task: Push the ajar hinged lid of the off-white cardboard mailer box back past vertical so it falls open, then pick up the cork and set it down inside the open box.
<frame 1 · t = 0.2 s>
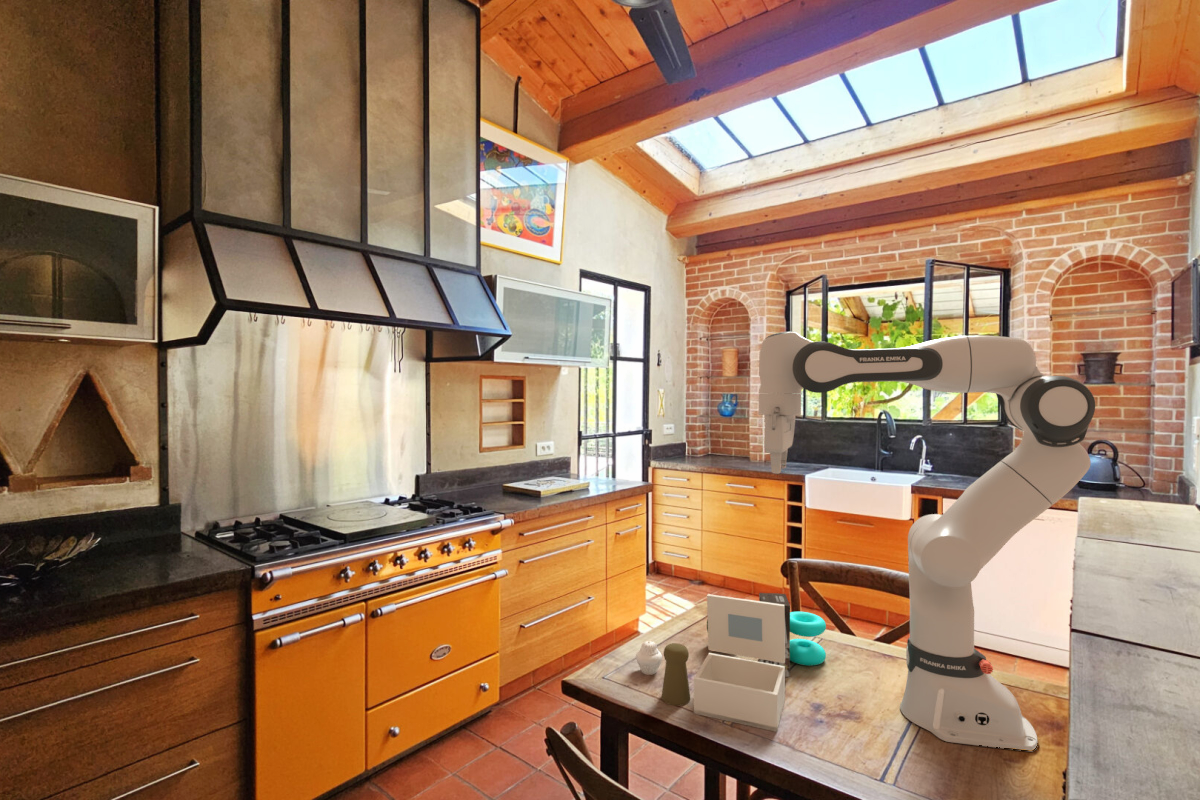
hand: (779, 470, 129), 47 cm above the table, fingers open, 8 cm apart
mailer lid: (745, 628, 126), point 14 cm above the table, hinge at 82.0°
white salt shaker: (649, 672, 136), on the table
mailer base: (740, 706, 121), on the table
bell pepper: (723, 648, 149), on the table
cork: (675, 698, 124), on the table
donuts: (803, 659, 143), on the table
coffee box: (773, 668, 138), on the table
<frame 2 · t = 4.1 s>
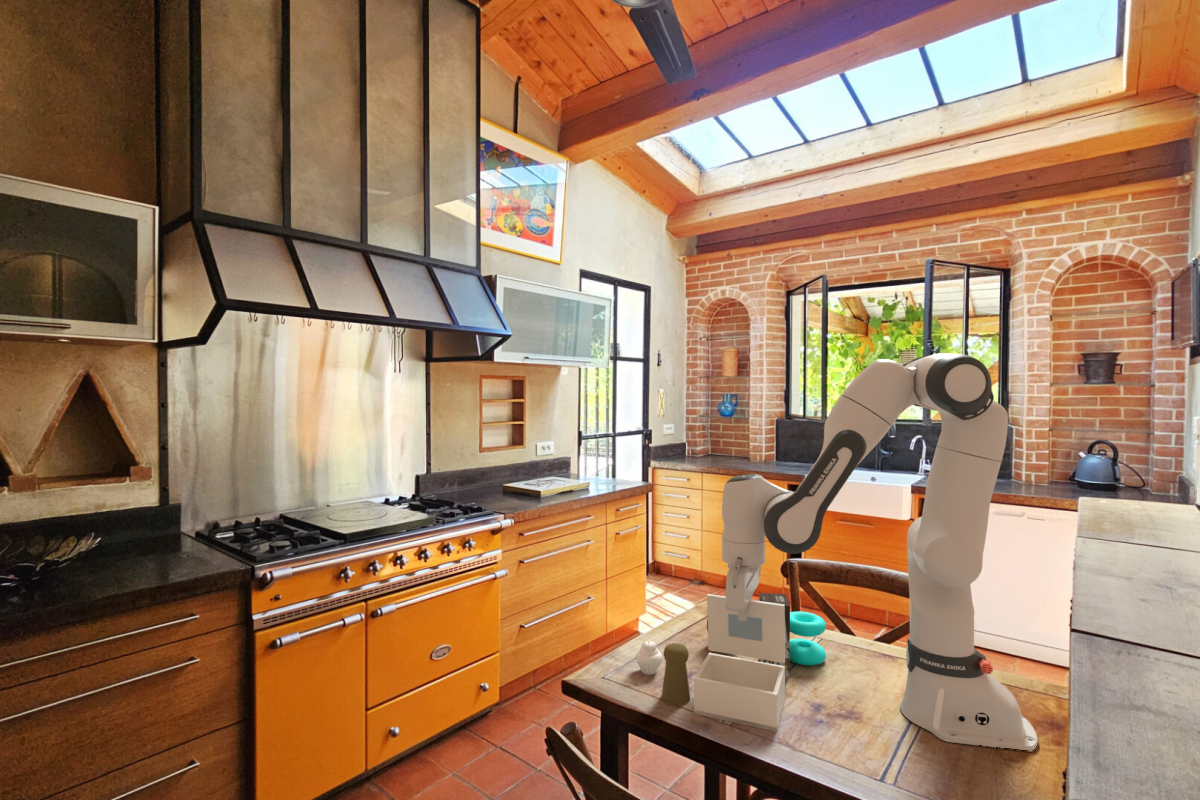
hand: (743, 619, 123), 17 cm above the table, fingers closed
mailer lid: (745, 628, 126), point 14 cm above the table, hinge at 82.4°, touching gripper
everything else where it was.
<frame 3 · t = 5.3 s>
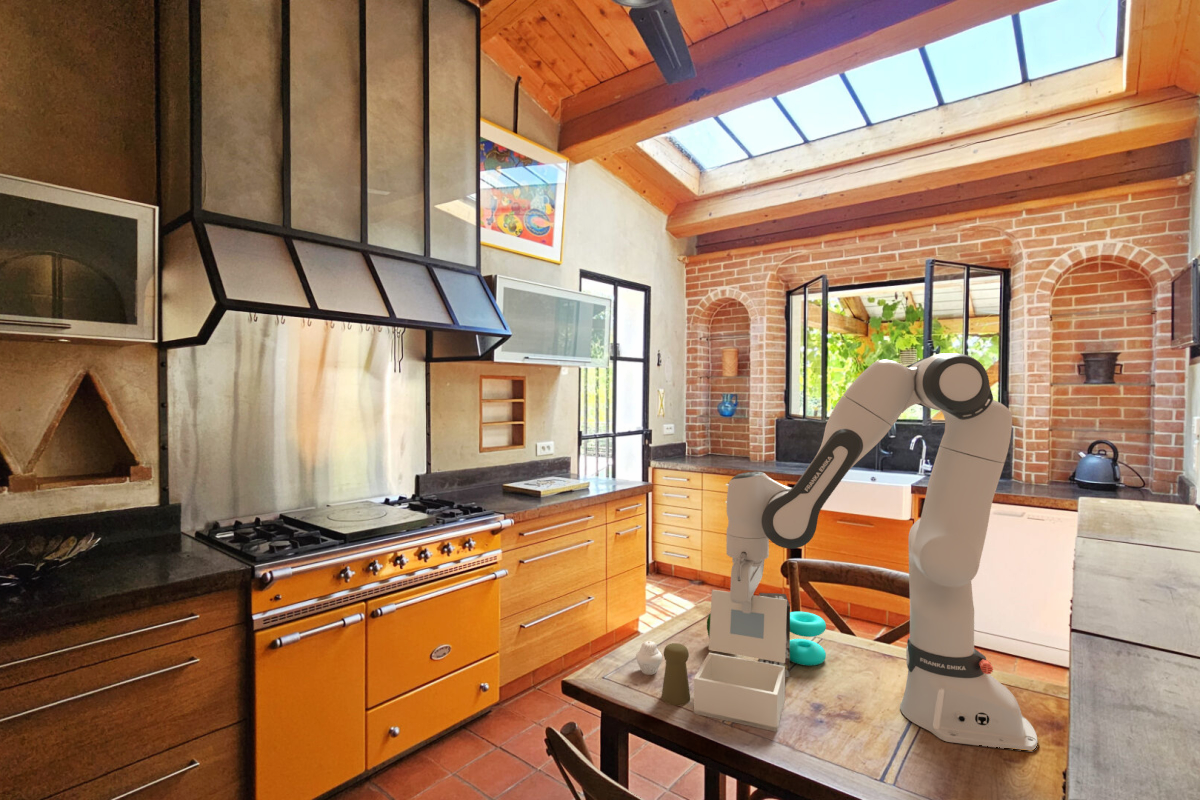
hand: (747, 611, 127), 17 cm above the table, fingers closed
mailer lid: (747, 625, 128), point 14 cm above the table, hinge at 103.1°, touching gripper
everything else where it was.
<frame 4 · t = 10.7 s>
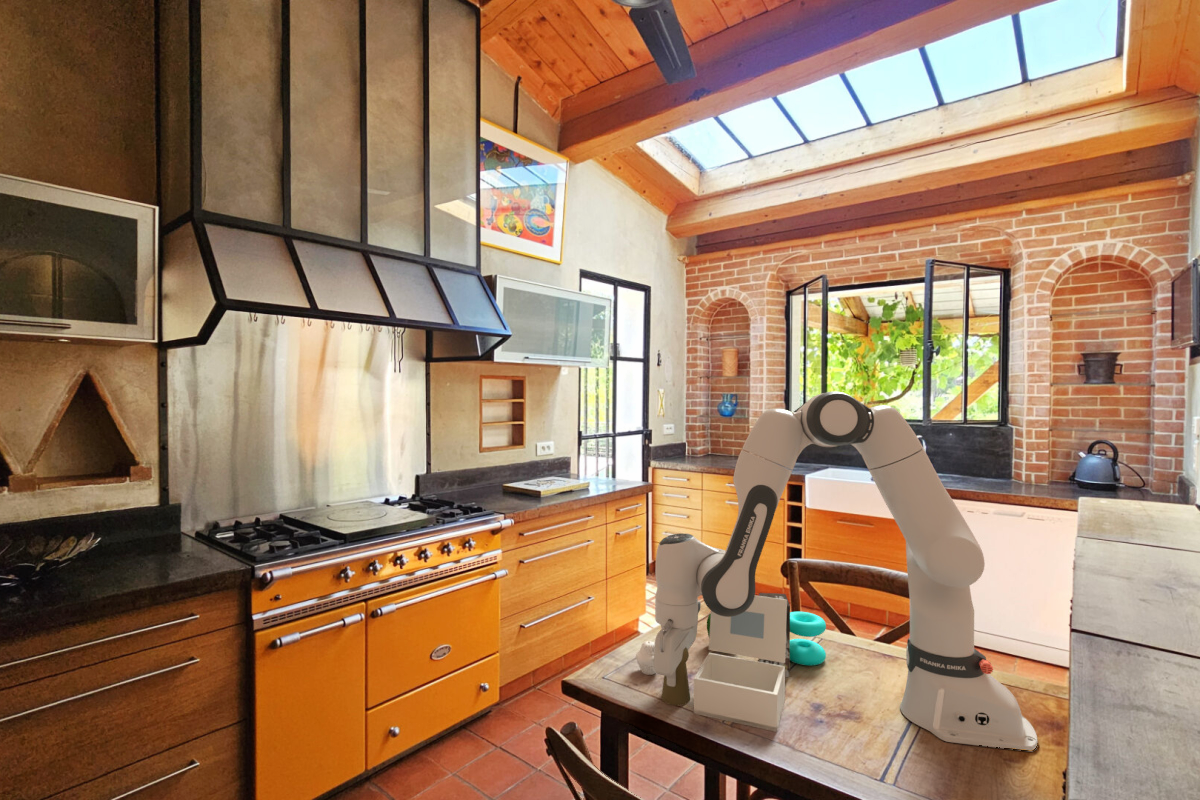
hand: (676, 678, 124), 4 cm above the table, fingers closed on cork, 5 cm apart
mailer lid: (747, 625, 128), point 14 cm above the table, hinge at 103.7°
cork: (675, 698, 124), on the table, touching gripper
everything else where it was.
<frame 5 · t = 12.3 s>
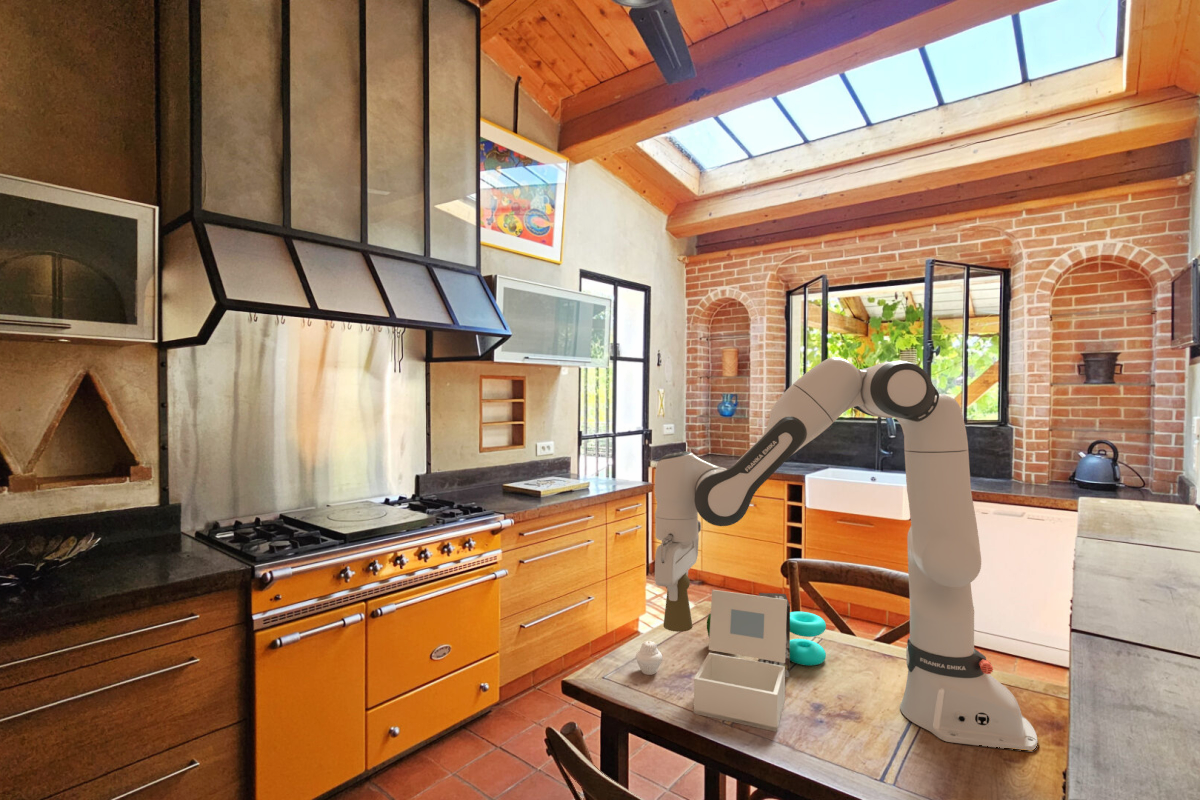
hand: (677, 595, 124), 22 cm above the table, fingers closed on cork, 4 cm apart
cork: (677, 627, 124), point 15 cm above the table, touching gripper
everything else where it was.
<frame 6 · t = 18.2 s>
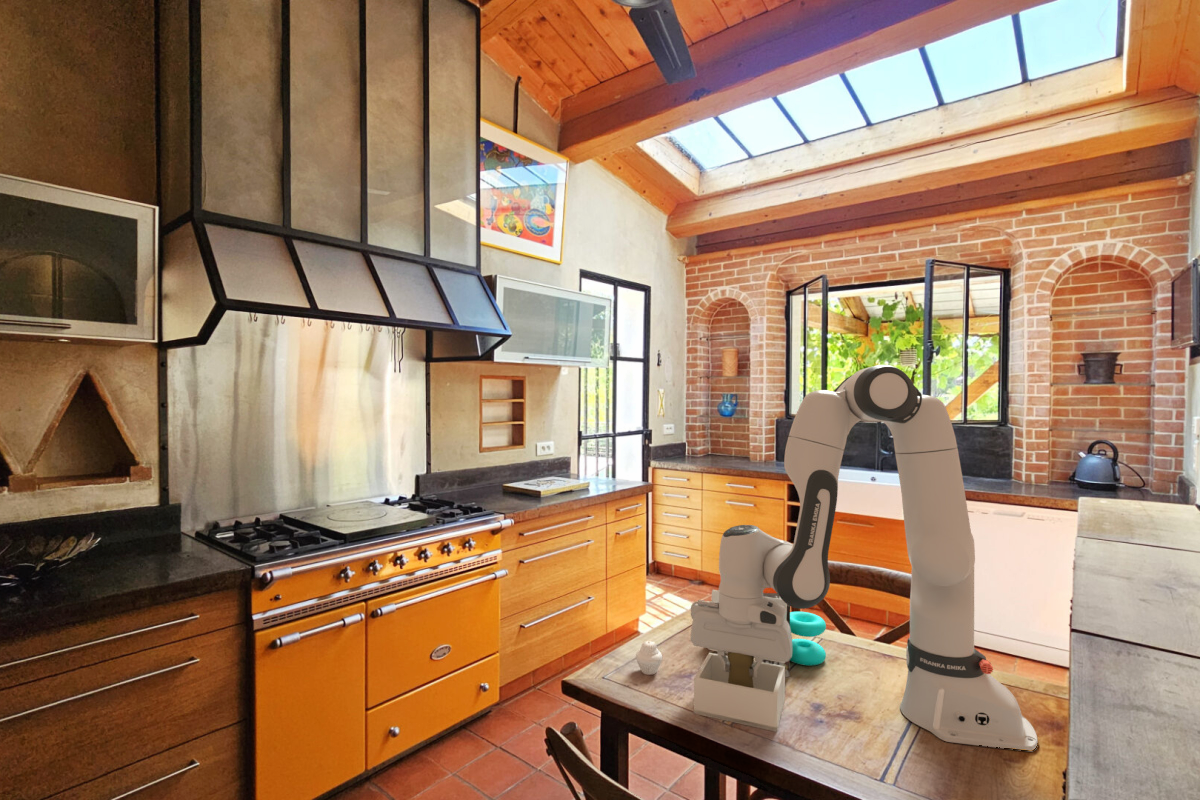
hand: (740, 673, 121), 7 cm above the table, fingers closed on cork, 4 cm apart
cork: (740, 702, 121), point 1 cm above the table, touching gripper, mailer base
everything else where it was.
when the fingers open (7 cm above the table, at t = 18.3 s): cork stays where it is, resting on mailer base.
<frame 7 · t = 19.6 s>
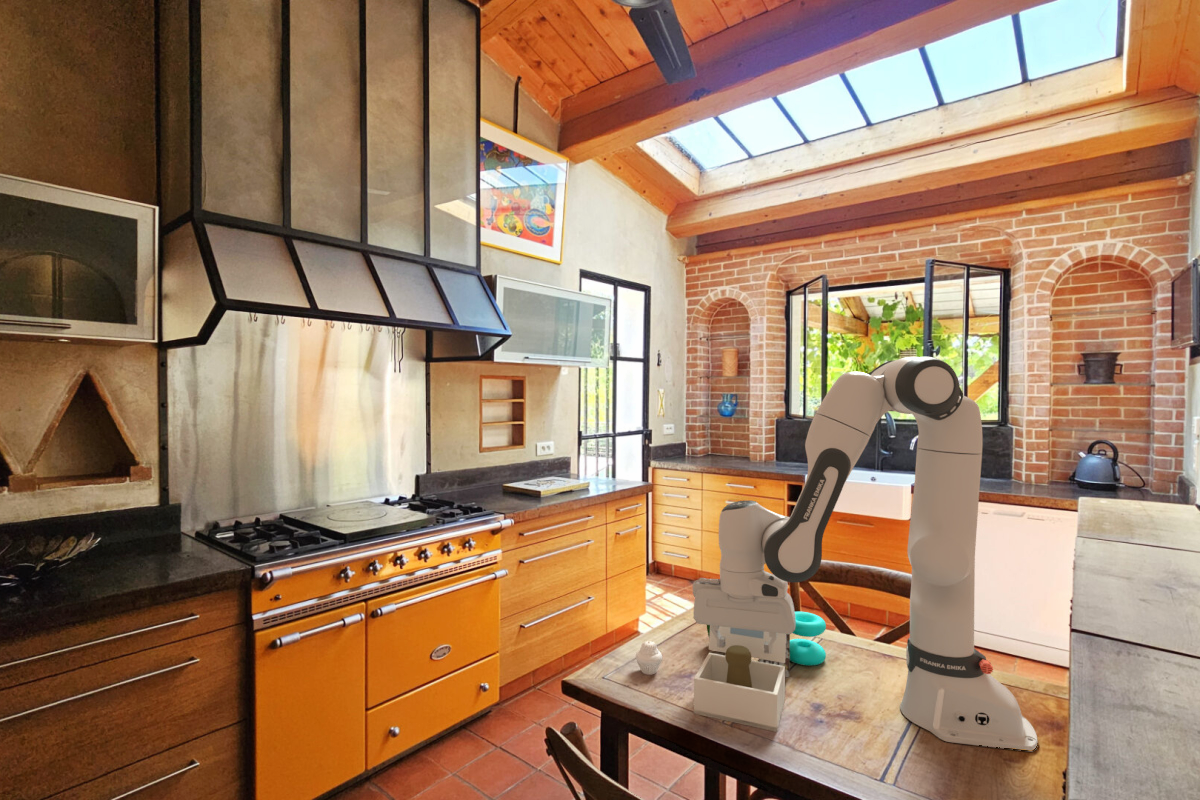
hand: (744, 649, 120), 12 cm above the table, fingers open, 8 cm apart
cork: (739, 702, 121), point 1 cm above the table, touching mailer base
everything else where it was.
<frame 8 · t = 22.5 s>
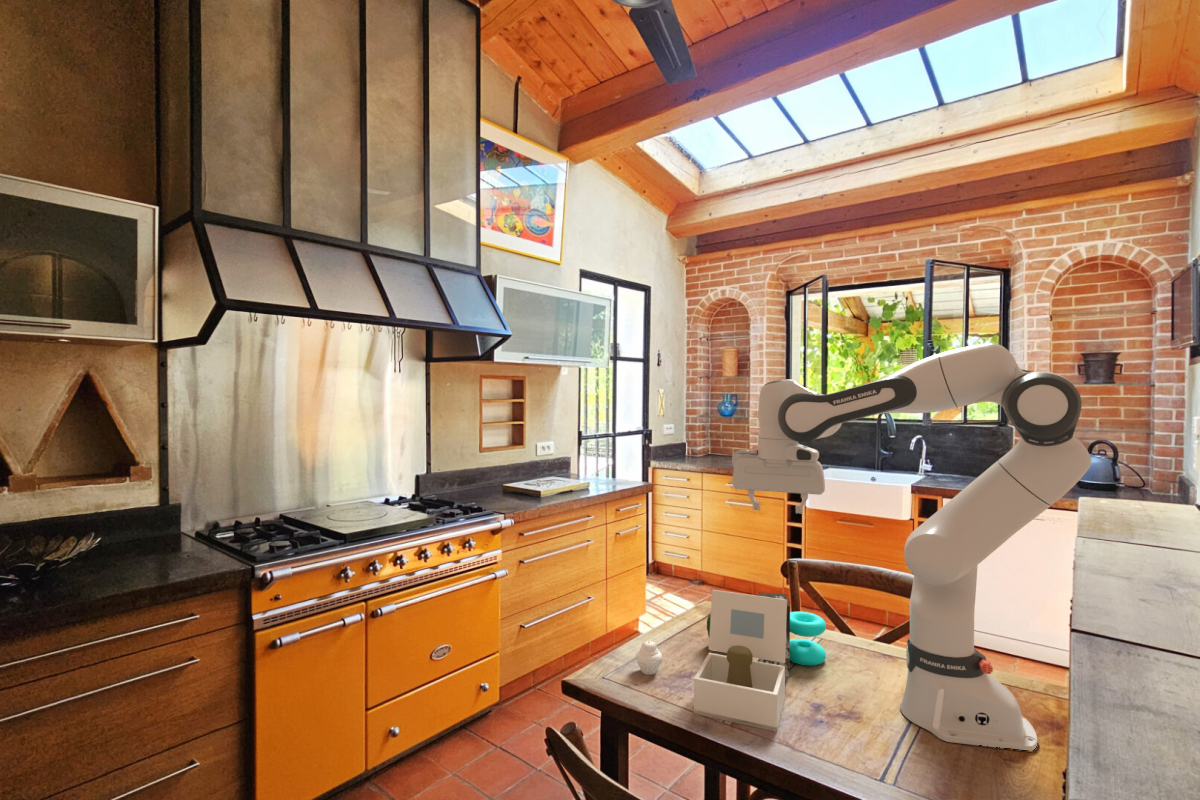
hand: (777, 511, 135), 37 cm above the table, fingers open, 8 cm apart
nothing on the table moved.
at the end: mailer lid at +104° (first picture: +82°); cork inside the target area on the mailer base (0.3 cm from its centre), point 0.6 cm above the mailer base's base; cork tilted 0° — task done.
